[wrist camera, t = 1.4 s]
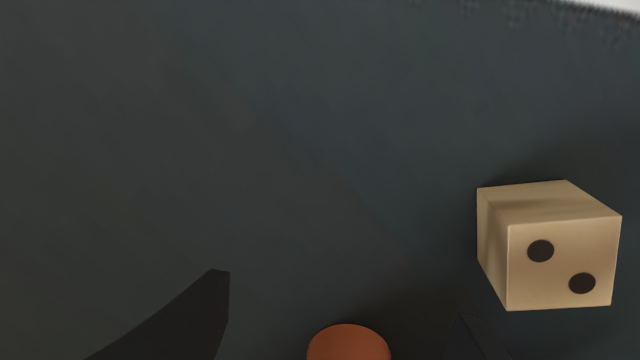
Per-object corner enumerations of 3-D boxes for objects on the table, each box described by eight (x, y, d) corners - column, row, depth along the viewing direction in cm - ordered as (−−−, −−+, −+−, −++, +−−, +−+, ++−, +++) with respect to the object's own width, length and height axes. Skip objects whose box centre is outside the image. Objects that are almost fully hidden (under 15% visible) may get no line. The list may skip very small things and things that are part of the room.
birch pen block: (560, 253, 21) (612, 307, 17) (477, 259, 22) (506, 313, 17) (566, 178, 20) (624, 216, 15) (476, 187, 20) (508, 226, 16)
